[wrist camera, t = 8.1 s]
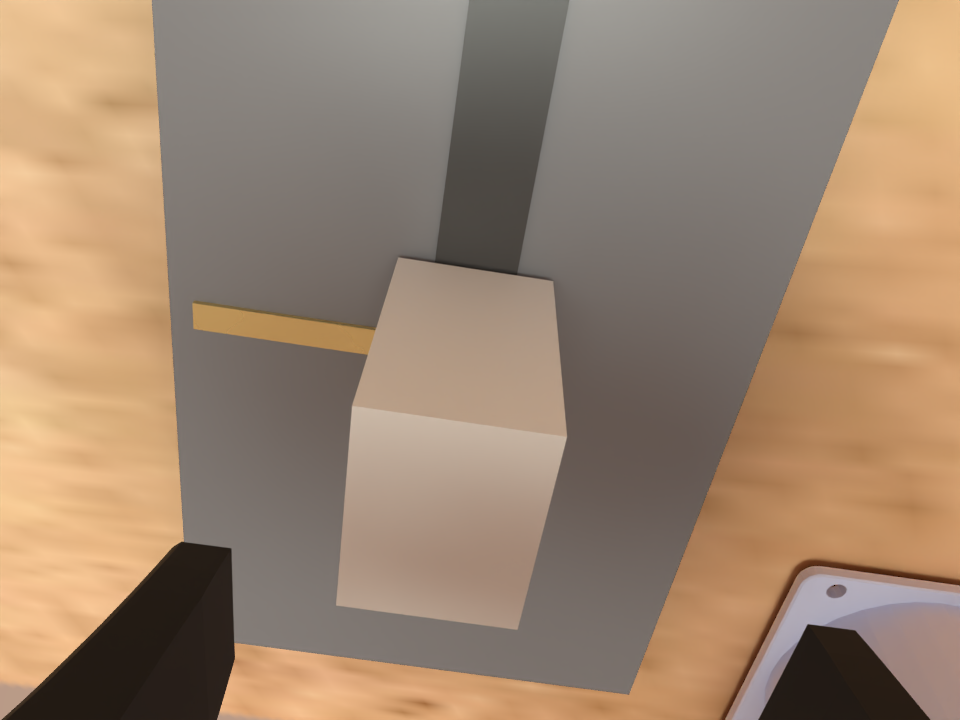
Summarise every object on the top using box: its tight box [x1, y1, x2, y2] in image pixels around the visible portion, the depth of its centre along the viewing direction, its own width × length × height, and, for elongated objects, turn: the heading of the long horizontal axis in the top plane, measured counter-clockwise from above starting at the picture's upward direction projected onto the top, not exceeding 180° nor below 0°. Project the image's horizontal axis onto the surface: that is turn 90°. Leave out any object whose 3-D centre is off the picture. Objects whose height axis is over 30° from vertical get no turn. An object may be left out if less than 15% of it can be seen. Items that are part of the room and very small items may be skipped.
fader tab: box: [336, 257, 567, 630], centre depth 14 cm, size 3×4×5 cm
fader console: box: [152, 0, 899, 694], centre depth 16 cm, size 12×26×2 cm, turn 171°
